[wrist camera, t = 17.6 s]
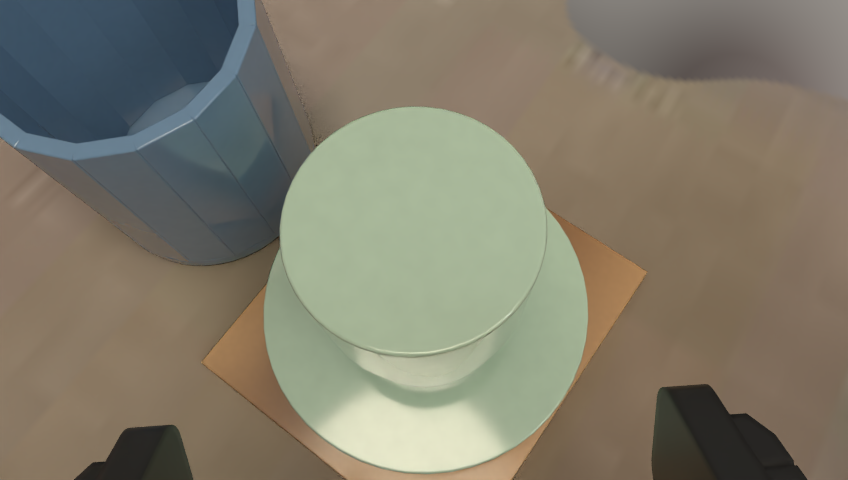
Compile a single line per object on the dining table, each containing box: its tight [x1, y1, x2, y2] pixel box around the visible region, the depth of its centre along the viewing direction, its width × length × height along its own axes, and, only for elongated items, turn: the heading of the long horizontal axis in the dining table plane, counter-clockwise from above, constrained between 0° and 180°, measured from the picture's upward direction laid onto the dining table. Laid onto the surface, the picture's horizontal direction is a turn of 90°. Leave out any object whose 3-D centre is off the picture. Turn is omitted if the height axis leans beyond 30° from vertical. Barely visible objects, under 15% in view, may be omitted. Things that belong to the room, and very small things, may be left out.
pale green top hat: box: [263, 106, 588, 475], centre depth 20 cm, size 10×10×10 cm
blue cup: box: [0, 0, 315, 265], centre depth 23 cm, size 8×8×9 cm
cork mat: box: [201, 209, 647, 480], centre depth 24 cm, size 11×12×1 cm
